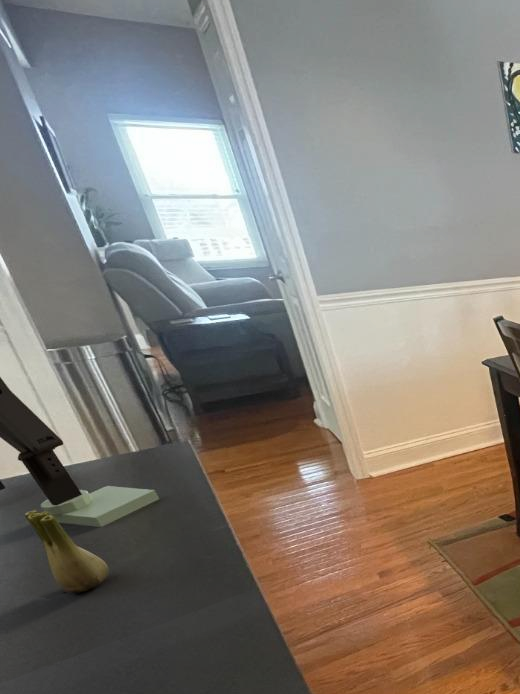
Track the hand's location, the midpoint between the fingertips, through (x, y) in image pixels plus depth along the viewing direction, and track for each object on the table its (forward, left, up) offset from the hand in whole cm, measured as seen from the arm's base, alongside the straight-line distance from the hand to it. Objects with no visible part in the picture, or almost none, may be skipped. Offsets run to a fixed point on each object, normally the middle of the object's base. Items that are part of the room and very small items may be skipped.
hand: (28, 496), depth 76 cm
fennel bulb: (0, 0, -15) cm, 15 cm away
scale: (-22, +17, -15) cm, 31 cm away
